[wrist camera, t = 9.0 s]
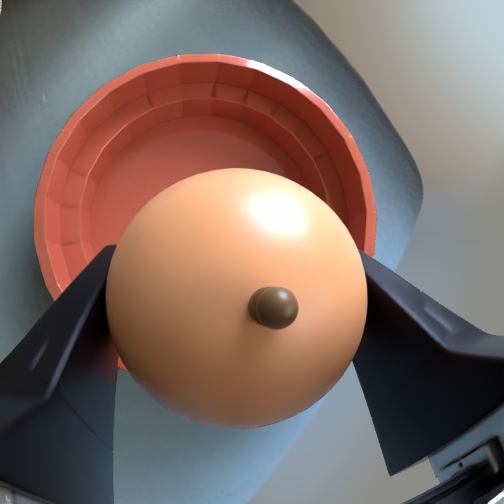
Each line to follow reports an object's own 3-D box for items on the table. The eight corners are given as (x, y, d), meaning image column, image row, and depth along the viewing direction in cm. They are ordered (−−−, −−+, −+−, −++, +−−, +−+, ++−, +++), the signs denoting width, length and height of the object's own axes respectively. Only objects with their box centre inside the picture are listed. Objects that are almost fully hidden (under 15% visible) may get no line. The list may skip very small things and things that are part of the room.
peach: (318, 353, 12) (465, 413, 5) (159, 396, 11) (132, 536, 3) (281, 197, 13) (396, 89, 5) (118, 230, 11) (23, 137, 4)
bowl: (378, 209, 22) (420, 192, 18) (228, 417, 19) (241, 453, 14) (193, 60, 21) (197, 15, 16) (20, 241, 17) (-20, 228, 12)
